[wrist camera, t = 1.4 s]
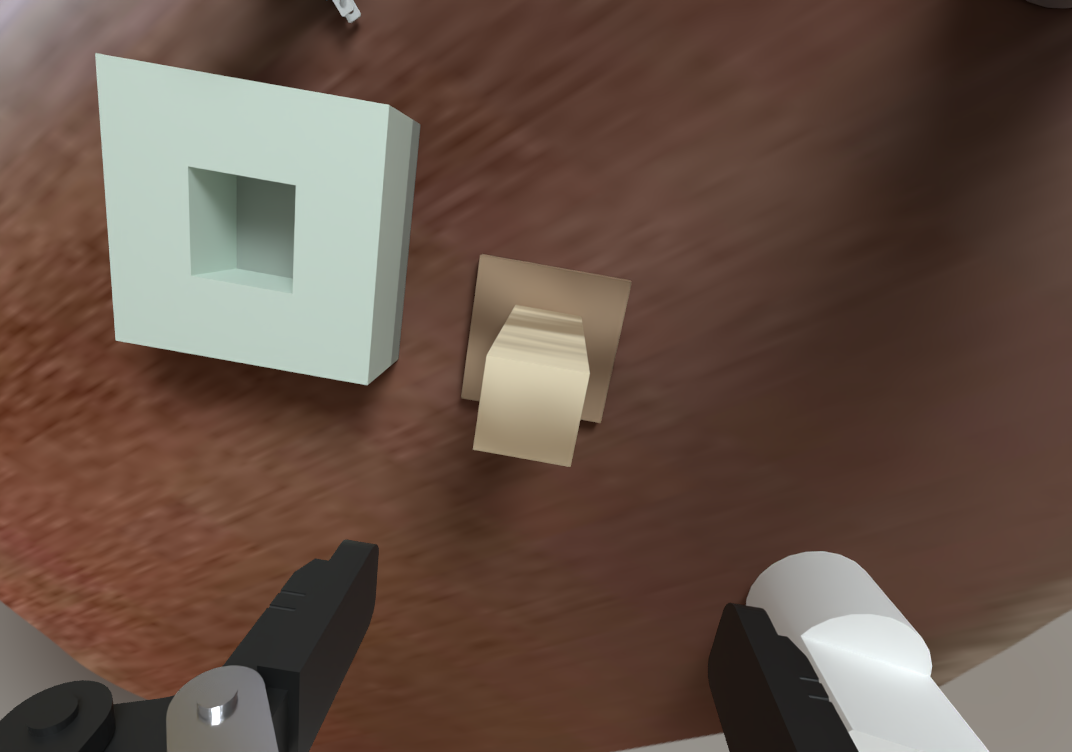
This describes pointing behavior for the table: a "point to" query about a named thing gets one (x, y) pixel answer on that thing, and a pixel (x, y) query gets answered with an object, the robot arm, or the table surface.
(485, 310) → the coaster
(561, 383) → the pin
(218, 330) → the socket block
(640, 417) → the table surface
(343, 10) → the push button
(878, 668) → the cylinder with rectangular tab
